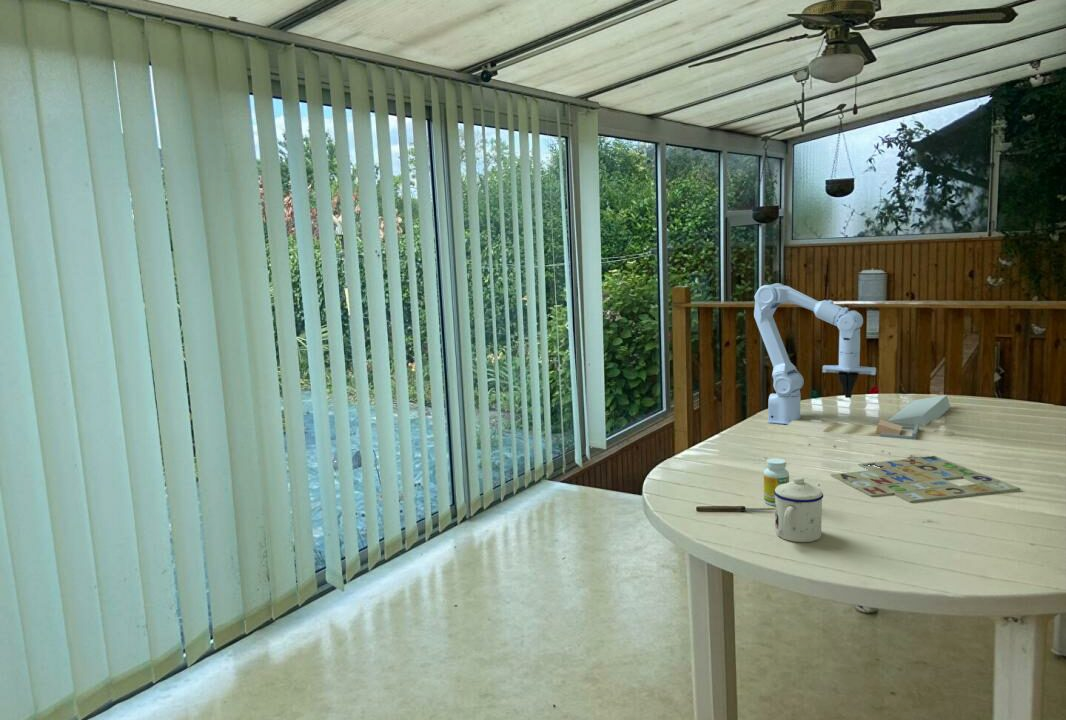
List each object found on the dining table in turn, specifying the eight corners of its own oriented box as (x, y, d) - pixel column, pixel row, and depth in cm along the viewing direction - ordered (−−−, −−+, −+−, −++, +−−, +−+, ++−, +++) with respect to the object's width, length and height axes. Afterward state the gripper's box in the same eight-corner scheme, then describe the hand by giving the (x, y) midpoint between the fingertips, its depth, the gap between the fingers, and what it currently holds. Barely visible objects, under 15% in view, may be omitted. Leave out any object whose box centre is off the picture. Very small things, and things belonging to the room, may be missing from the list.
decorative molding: (891, 436, 225) (926, 431, 219) (886, 421, 225) (922, 415, 219) (918, 413, 251) (950, 409, 244) (914, 400, 251) (946, 394, 245)
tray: (879, 441, 209) (879, 430, 209) (884, 431, 220) (884, 421, 219) (915, 444, 205) (915, 433, 204) (918, 434, 215) (919, 423, 214)
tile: (875, 432, 212) (878, 424, 212) (878, 427, 218) (880, 419, 217) (897, 439, 210) (900, 430, 209) (900, 434, 215) (902, 426, 214)
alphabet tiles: (934, 459, 193) (934, 454, 193) (1021, 493, 166) (1021, 487, 166) (816, 470, 188) (817, 466, 187) (887, 507, 161) (887, 502, 160)
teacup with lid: (782, 522, 153) (782, 468, 152) (827, 531, 148) (829, 474, 146) (762, 542, 144) (762, 485, 142) (810, 552, 139) (811, 492, 137)
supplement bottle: (773, 496, 169) (774, 455, 168) (794, 502, 165) (794, 460, 163) (758, 502, 166) (758, 460, 164) (778, 508, 162) (779, 465, 160)
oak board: (823, 436, 217) (823, 431, 217) (830, 427, 227) (830, 422, 227) (879, 441, 209) (879, 436, 209) (884, 431, 220) (884, 426, 219)
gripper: (820, 353, 221) (820, 398, 223) (874, 355, 213) (872, 401, 215) (825, 349, 227) (824, 393, 229) (877, 351, 219) (876, 396, 221)
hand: (848, 397), depth 222 cm, fingers closed
